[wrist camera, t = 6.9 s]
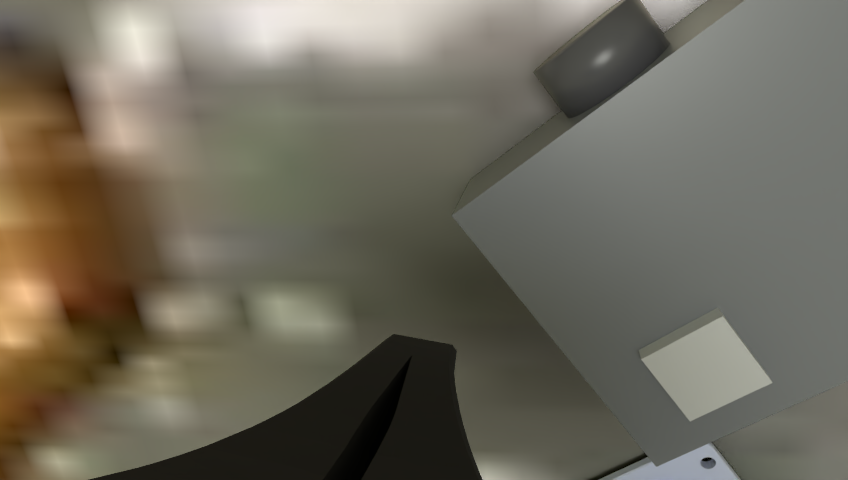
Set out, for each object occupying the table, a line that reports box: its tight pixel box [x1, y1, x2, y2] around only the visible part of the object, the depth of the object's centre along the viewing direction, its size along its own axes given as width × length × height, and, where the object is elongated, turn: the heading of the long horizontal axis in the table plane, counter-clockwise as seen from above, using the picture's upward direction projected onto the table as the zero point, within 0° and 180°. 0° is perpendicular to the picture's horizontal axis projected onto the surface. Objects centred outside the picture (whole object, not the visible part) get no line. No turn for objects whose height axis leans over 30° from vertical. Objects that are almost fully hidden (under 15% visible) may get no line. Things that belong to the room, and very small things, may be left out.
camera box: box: [452, 0, 848, 467], centre depth 16 cm, size 12×11×4 cm
